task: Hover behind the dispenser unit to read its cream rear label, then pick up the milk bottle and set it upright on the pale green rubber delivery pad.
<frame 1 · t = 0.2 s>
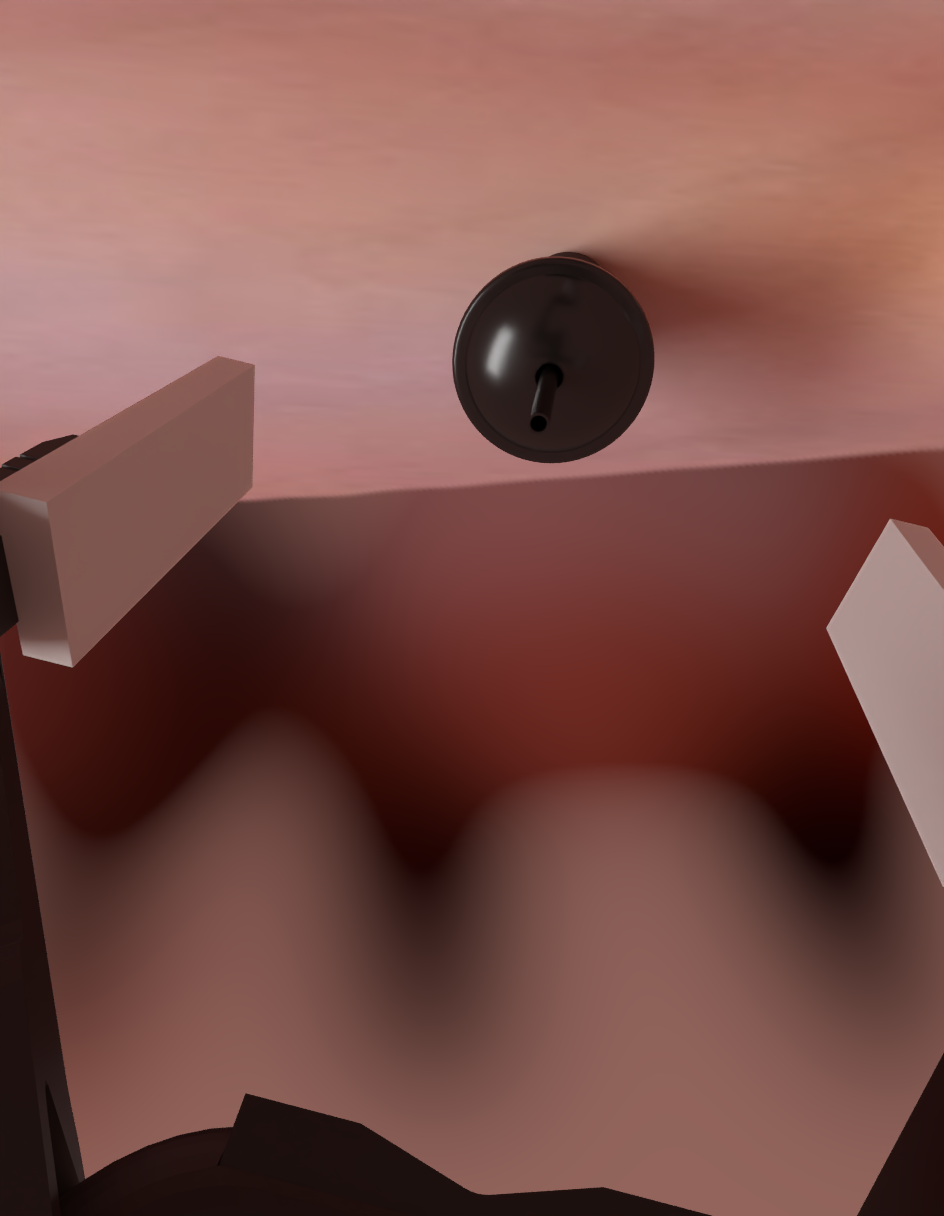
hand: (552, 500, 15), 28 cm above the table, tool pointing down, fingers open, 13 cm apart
drinking cup: (566, 300, 39), on the table
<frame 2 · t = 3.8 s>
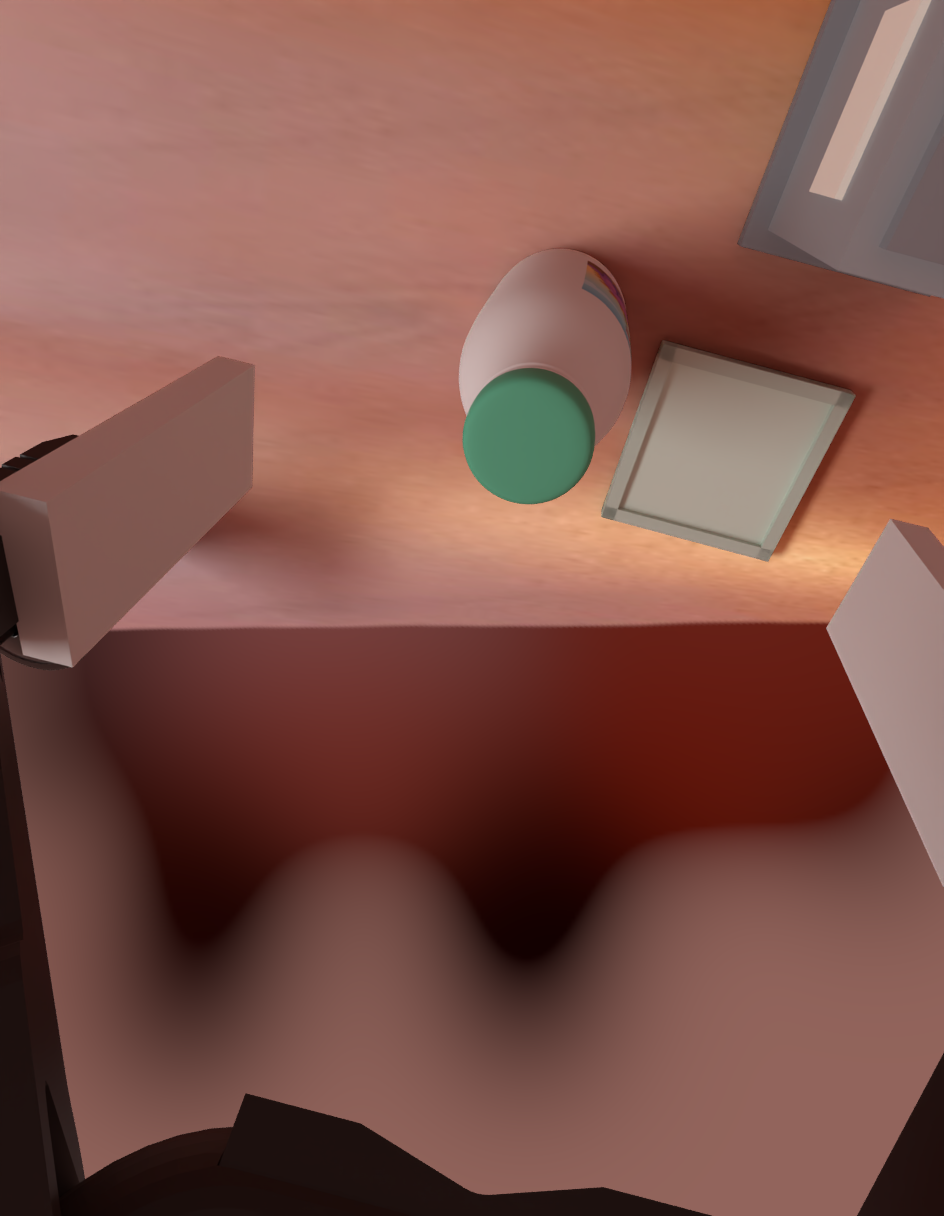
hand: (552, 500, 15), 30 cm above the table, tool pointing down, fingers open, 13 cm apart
delivery pad: (717, 454, 44), on the table
dispenser unit: (891, 134, 34), on the table
drinking cup: (149, 512, 53), on the table
milk bottle: (557, 320, 41), on the table
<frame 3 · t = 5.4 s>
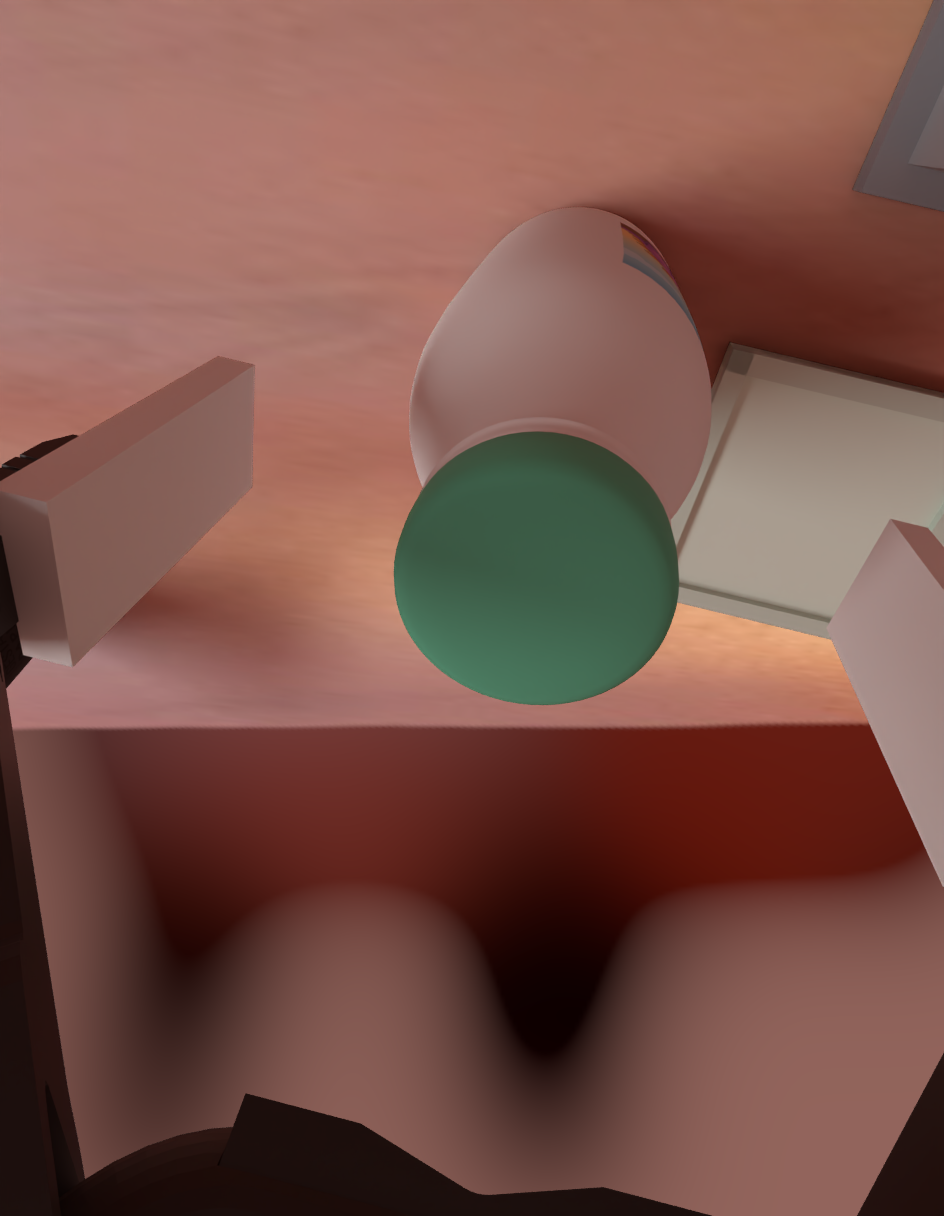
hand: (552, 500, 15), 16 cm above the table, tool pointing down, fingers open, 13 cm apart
delivery pad: (806, 504, 30), on the table
drinking cup: (29, 588, 40), on the table
milk bottle: (571, 317, 28), on the table
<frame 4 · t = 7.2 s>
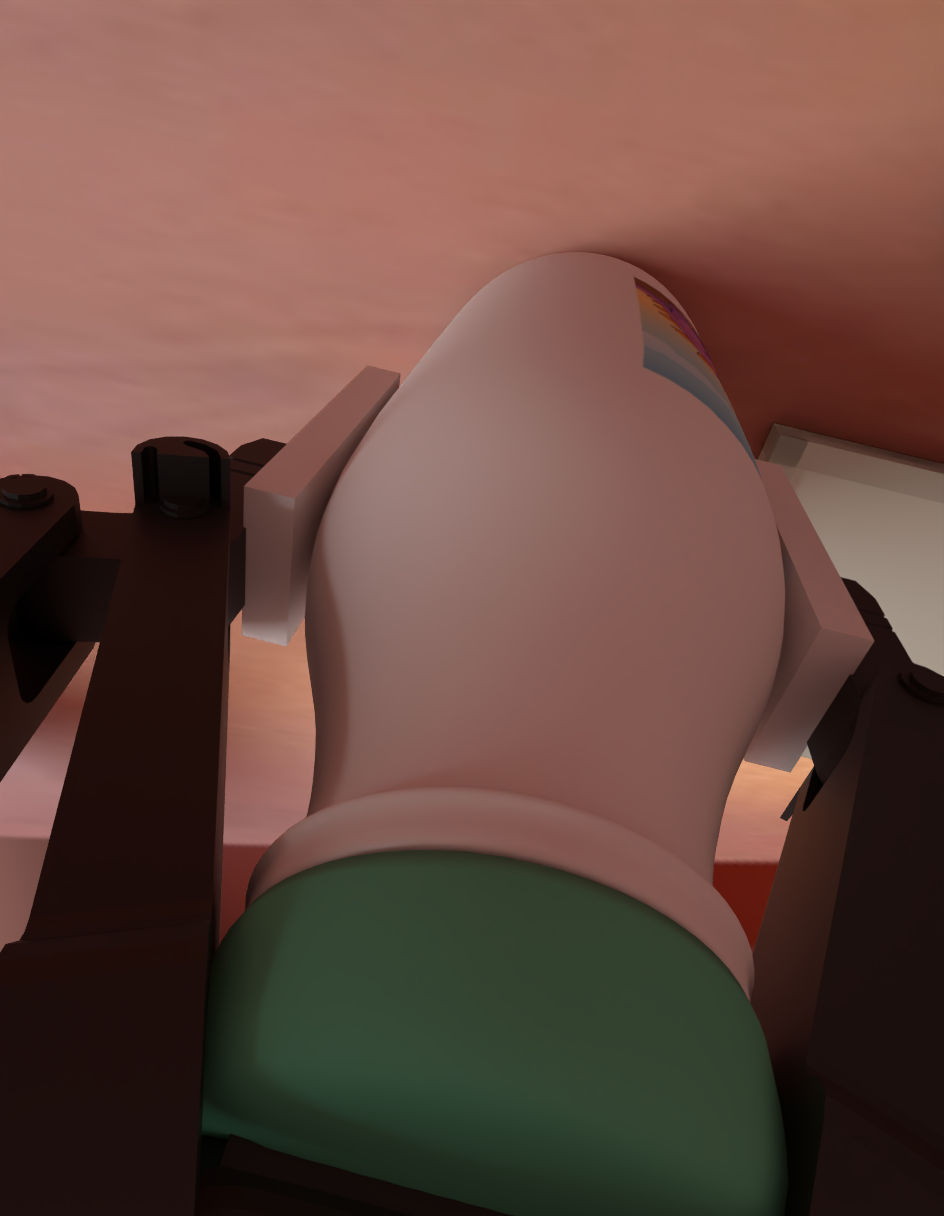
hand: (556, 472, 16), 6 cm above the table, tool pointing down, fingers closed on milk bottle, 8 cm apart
delivery pad: (866, 619, 24), on the table
milk bottle: (568, 389, 22), on the table, touching gripper
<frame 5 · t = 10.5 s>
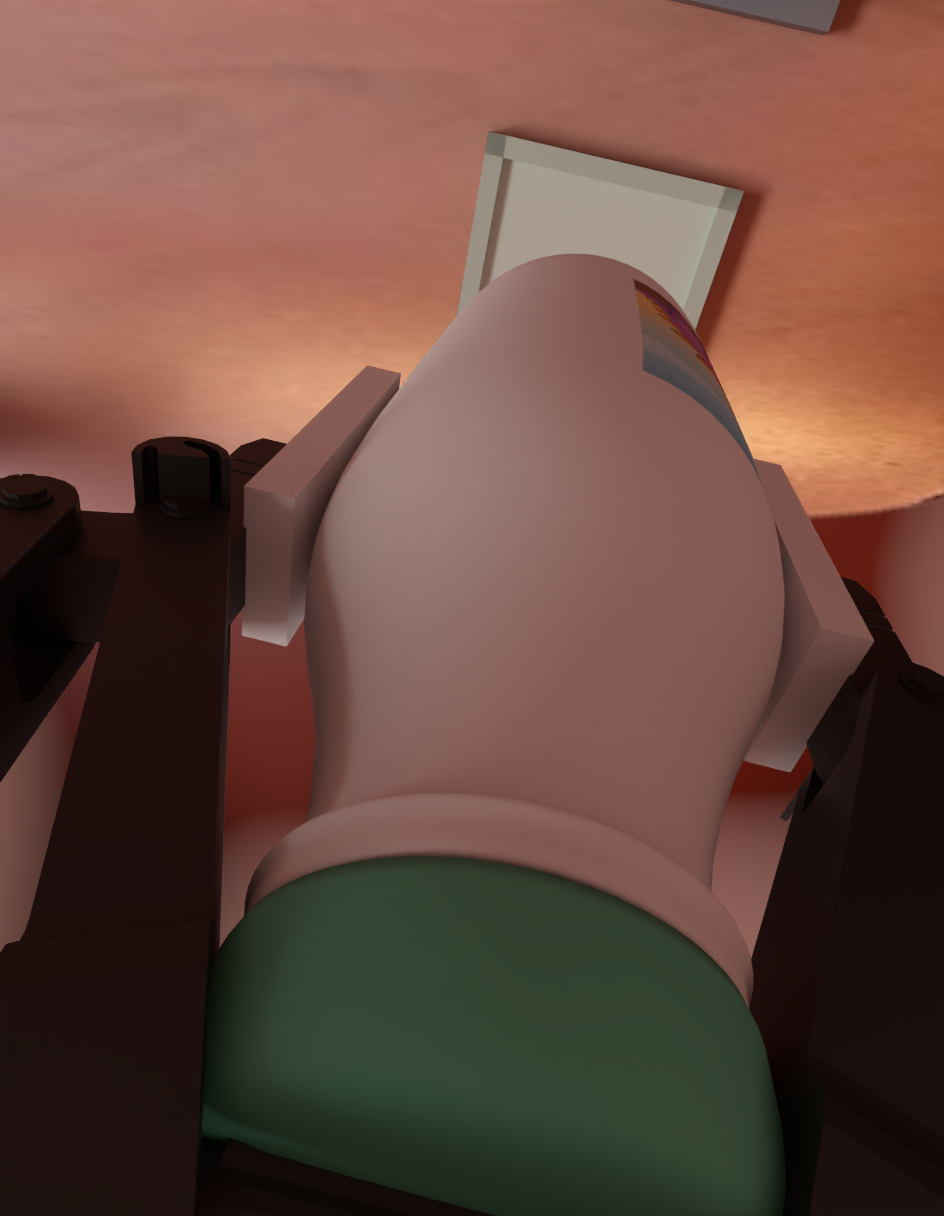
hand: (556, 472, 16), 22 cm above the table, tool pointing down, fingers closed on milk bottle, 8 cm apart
delivery pad: (580, 294, 34), on the table
milk bottle: (568, 391, 22), point 15 cm above the table, touching gripper
when the fingers open (8 cm above the table, at t = 13.6 s): milk bottle drops 1 cm, resting on delivery pad.
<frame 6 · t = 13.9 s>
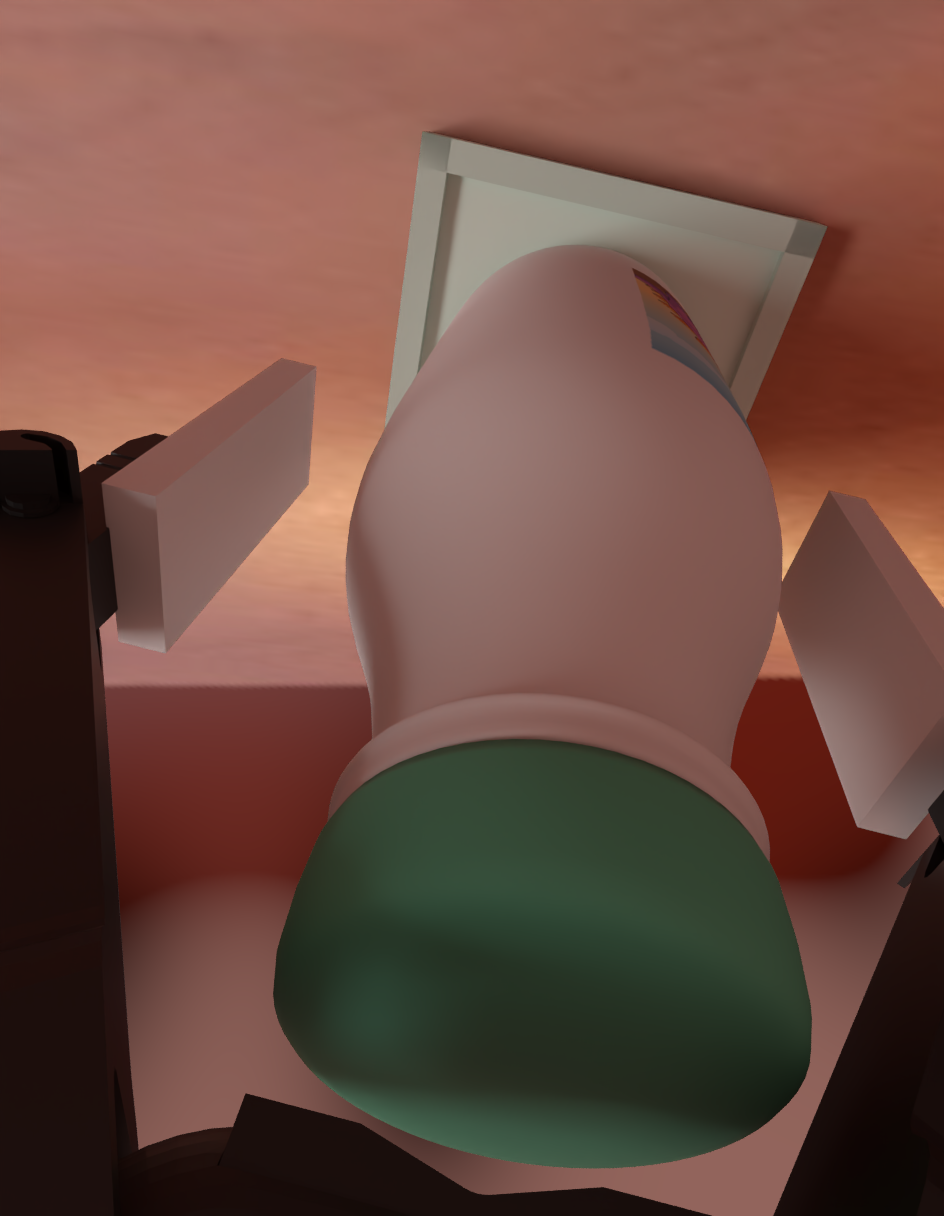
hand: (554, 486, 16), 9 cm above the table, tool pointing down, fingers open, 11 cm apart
delivery pad: (570, 373, 23), on the table
milk bottle: (567, 376, 23), resting on delivery pad
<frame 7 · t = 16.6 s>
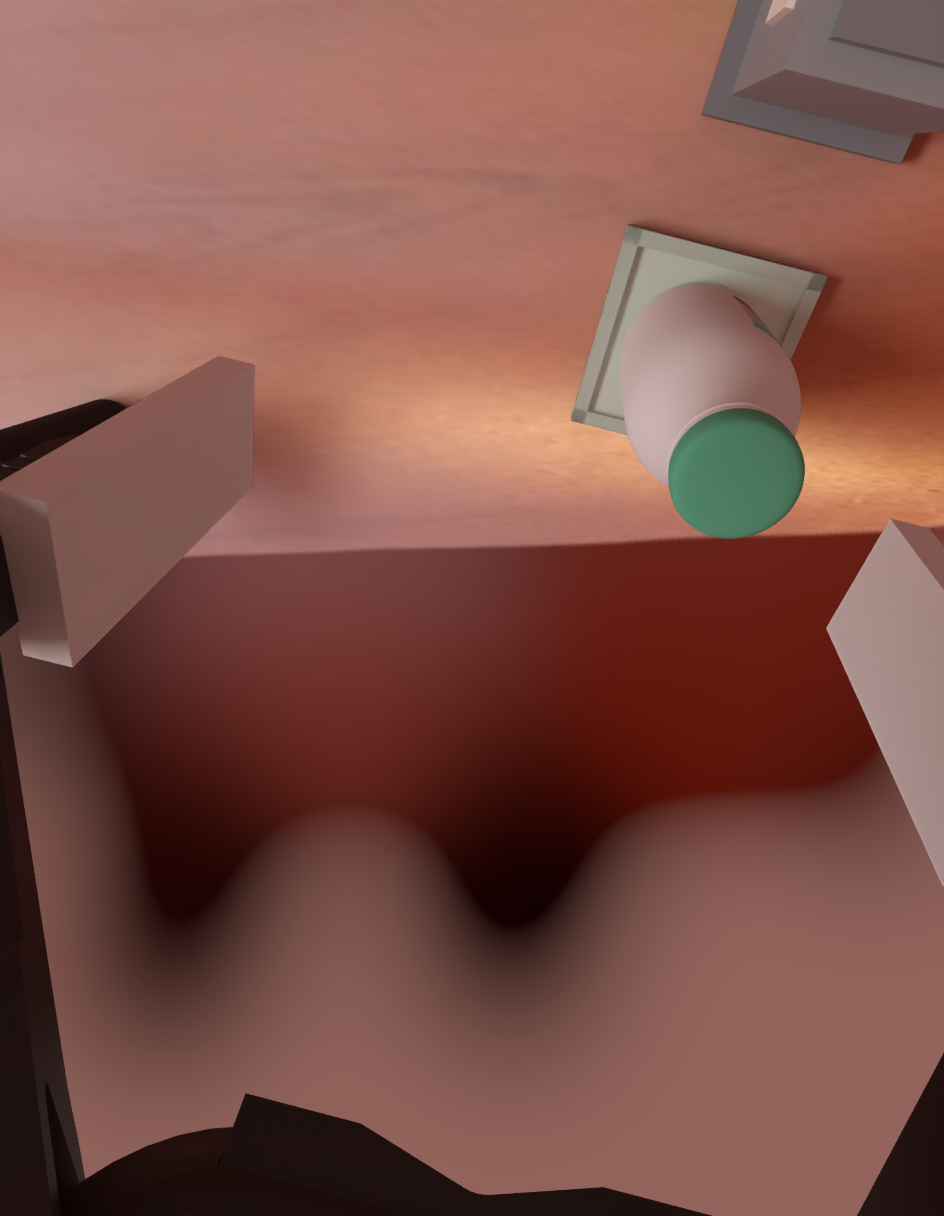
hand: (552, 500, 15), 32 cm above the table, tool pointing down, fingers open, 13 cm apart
delivery pad: (688, 350, 43), on the table
drinking cup: (114, 431, 52), on the table
milk bottle: (687, 351, 42), resting on delivery pad
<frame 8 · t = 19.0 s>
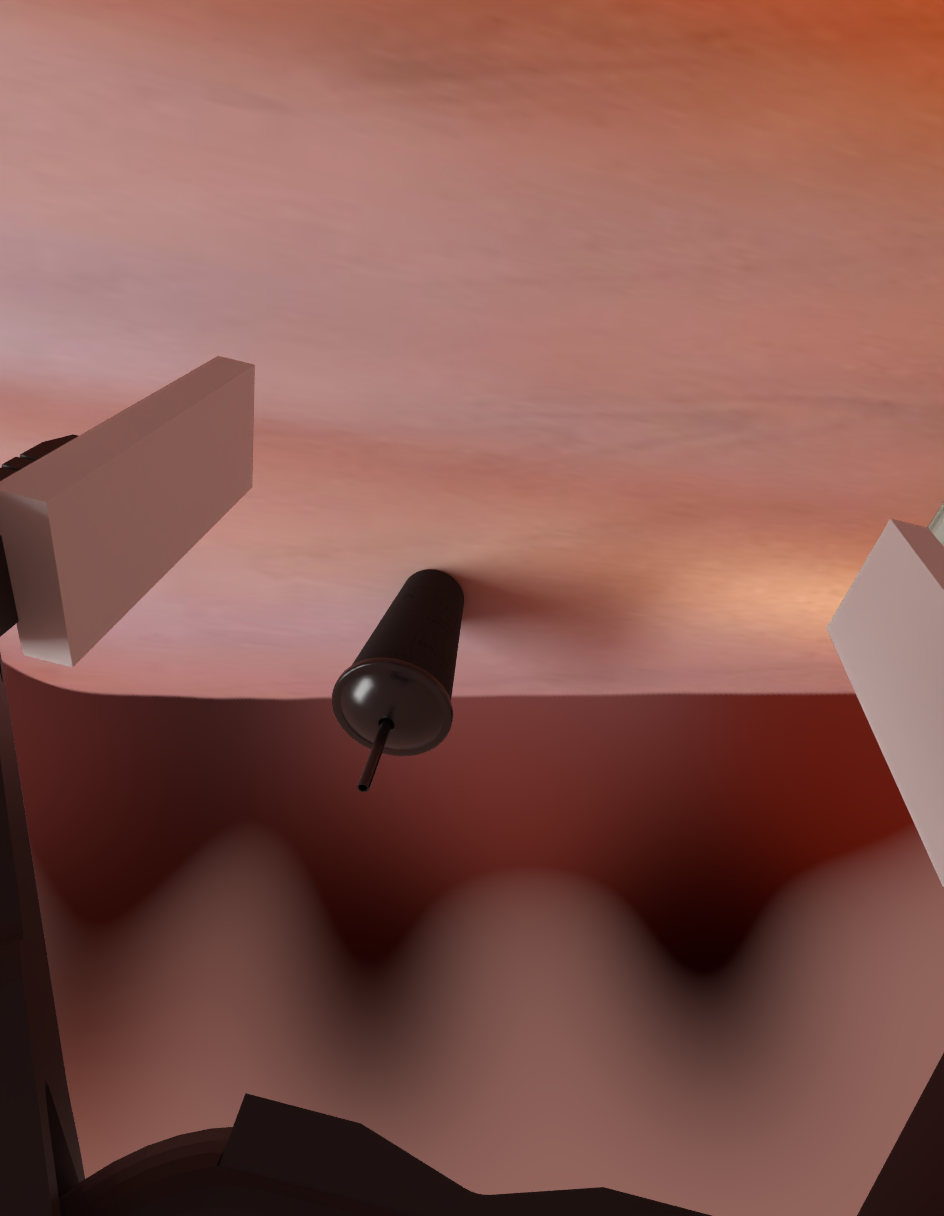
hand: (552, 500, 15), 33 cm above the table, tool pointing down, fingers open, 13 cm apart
drinking cup: (434, 594, 56), on the table
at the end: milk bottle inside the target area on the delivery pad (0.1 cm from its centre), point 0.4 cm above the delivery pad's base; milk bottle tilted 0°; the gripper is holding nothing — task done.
